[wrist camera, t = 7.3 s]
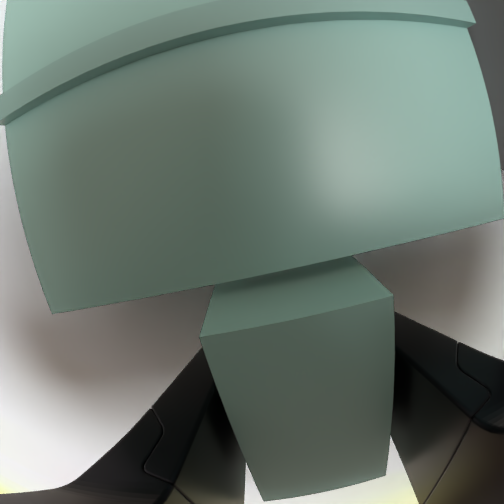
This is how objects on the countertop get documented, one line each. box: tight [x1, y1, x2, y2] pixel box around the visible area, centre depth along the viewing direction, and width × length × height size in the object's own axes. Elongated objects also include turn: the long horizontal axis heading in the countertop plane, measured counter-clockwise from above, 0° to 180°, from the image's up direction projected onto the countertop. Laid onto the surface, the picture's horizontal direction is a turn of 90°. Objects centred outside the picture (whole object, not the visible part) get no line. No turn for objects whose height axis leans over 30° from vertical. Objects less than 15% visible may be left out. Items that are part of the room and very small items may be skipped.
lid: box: [0, 0, 504, 501], centre depth 5 cm, size 20×11×3 cm, turn 12°
